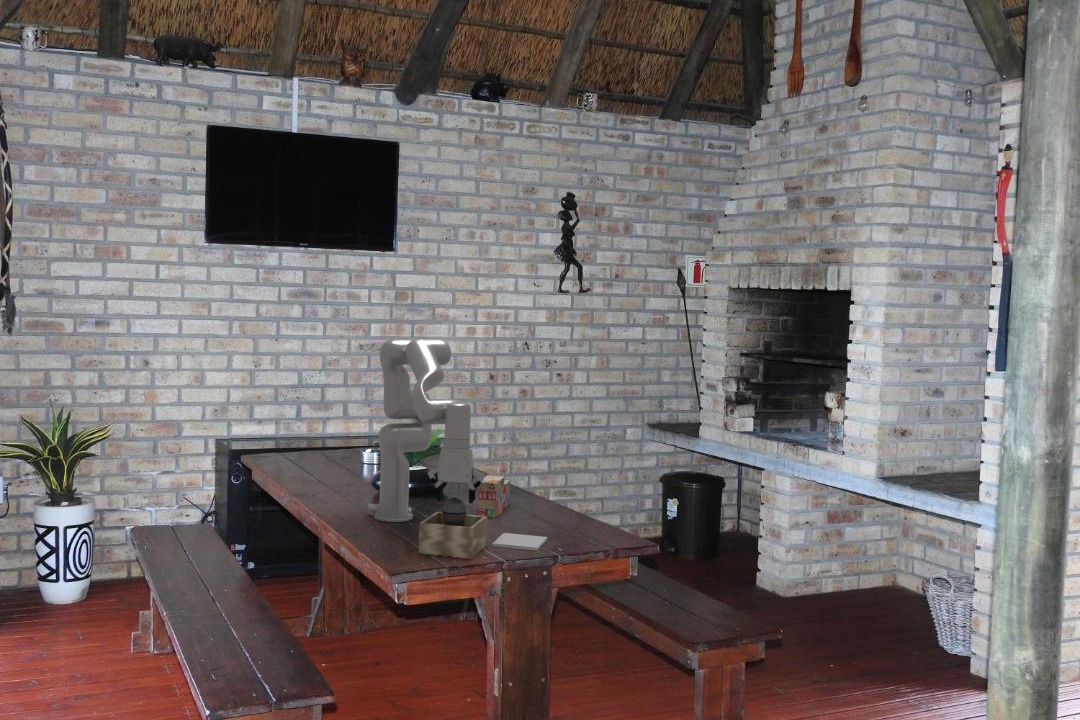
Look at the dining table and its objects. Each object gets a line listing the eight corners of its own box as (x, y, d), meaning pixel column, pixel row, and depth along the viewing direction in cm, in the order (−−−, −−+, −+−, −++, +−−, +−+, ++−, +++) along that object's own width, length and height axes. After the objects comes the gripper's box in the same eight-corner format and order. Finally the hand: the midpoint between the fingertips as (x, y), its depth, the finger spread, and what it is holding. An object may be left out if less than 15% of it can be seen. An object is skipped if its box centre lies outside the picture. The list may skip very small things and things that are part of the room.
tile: (492, 546, 328) (492, 543, 327) (503, 535, 341) (503, 532, 341) (537, 551, 325) (537, 547, 324) (547, 540, 338) (547, 537, 338)
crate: (418, 553, 316) (419, 523, 315) (435, 540, 331) (436, 511, 331) (471, 558, 312) (472, 528, 312) (485, 545, 328) (487, 516, 327)
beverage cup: (440, 546, 325) (443, 480, 324) (465, 546, 326) (467, 481, 324) (440, 552, 318) (442, 485, 316) (465, 553, 319) (467, 486, 317)
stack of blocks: (492, 504, 387) (493, 470, 386) (509, 505, 386) (510, 471, 385) (477, 516, 367) (478, 481, 366) (495, 518, 365) (496, 482, 364)
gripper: (425, 443, 317) (423, 501, 318) (482, 447, 314) (480, 506, 315) (433, 440, 325) (431, 497, 326) (488, 444, 321) (487, 501, 322)
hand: (455, 501), depth 320 cm, fingers open, 9 cm apart
